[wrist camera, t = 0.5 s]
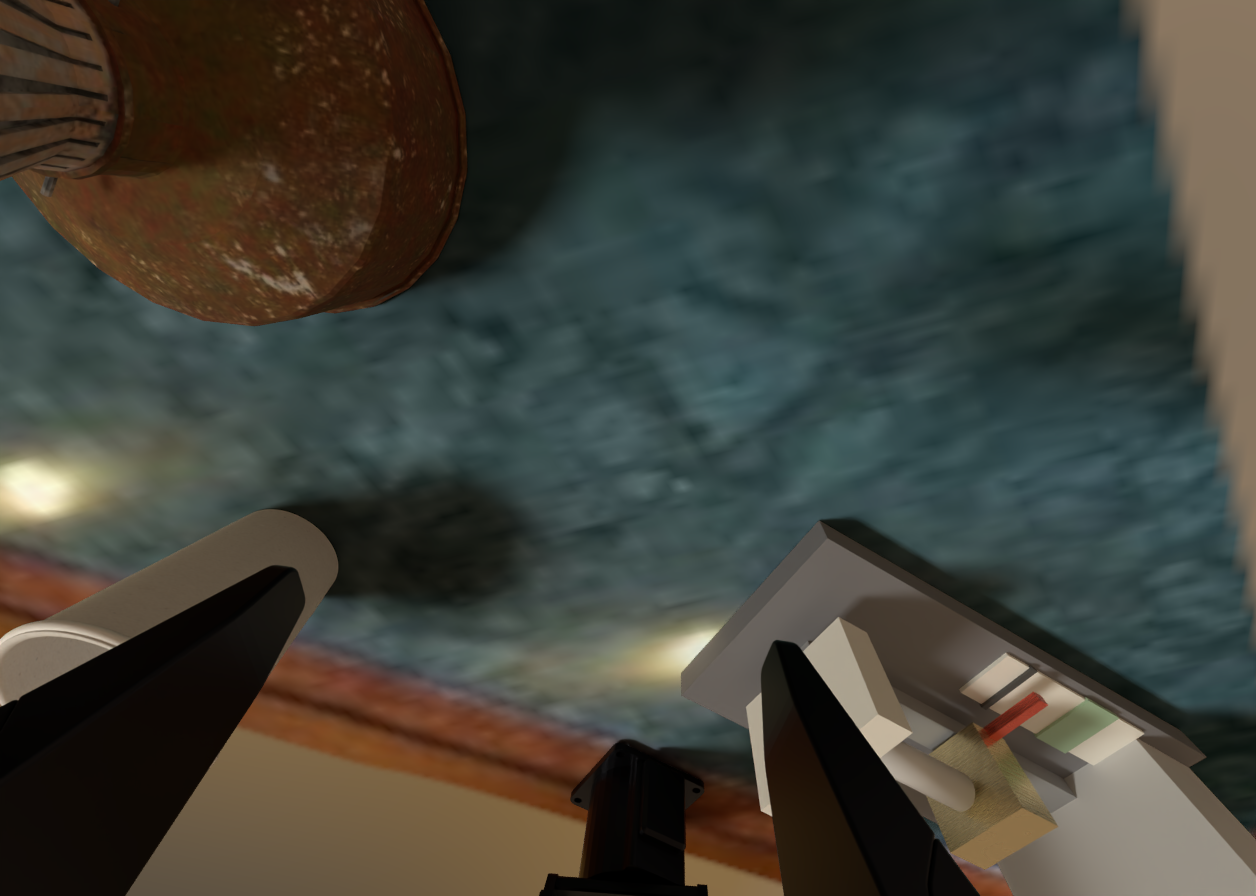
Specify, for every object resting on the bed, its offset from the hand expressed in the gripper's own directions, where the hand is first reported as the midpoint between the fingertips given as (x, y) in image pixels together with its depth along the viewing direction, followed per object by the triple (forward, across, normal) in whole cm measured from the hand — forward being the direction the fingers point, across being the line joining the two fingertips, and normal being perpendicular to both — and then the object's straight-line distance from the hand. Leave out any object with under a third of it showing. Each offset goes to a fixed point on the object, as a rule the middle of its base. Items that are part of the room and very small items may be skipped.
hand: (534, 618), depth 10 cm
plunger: (+10, -14, +14) cm, 22 cm away
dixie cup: (+13, +16, +14) cm, 25 cm away
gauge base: (+12, -19, +16) cm, 28 cm away
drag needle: (+9, -20, +15) cm, 27 cm away
